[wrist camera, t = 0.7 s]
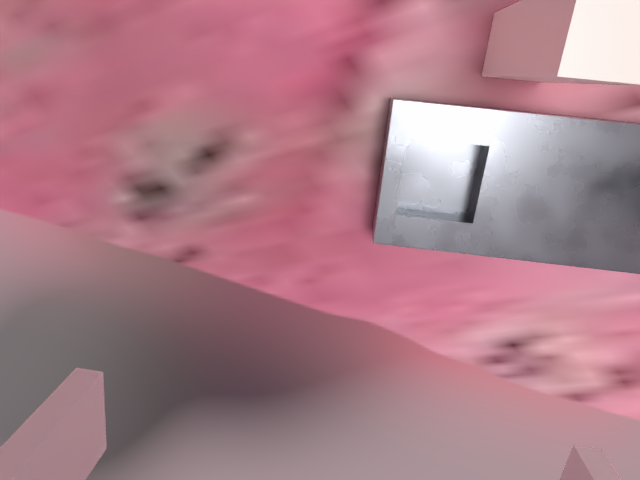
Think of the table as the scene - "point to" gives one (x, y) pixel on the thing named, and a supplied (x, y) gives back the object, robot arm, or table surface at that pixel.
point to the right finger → (566, 42)
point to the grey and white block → (510, 185)
